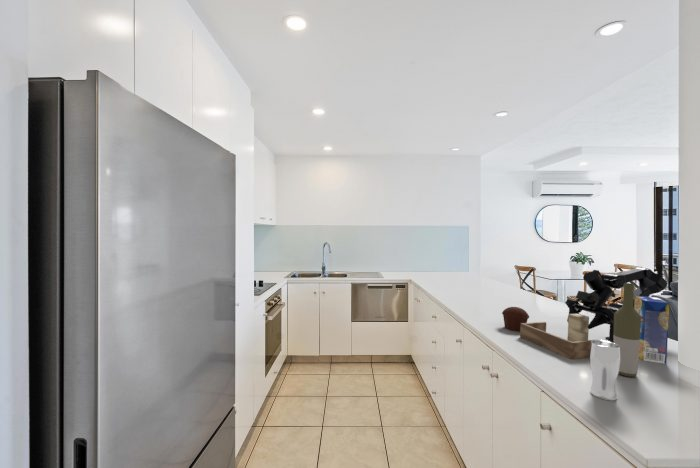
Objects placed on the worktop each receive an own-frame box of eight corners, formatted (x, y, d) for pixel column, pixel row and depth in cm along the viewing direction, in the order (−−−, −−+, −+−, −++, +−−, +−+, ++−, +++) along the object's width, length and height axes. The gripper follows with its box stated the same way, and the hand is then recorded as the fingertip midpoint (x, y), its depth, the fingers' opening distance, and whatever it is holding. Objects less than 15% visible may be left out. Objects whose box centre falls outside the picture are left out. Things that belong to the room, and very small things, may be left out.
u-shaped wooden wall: (543, 335, 151) (544, 321, 151) (598, 356, 127) (599, 340, 127) (520, 337, 147) (520, 323, 147) (571, 359, 123) (572, 343, 123)
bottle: (640, 380, 107) (645, 286, 106) (612, 374, 111) (616, 284, 110) (636, 372, 113) (640, 283, 112) (610, 367, 117) (613, 281, 116)
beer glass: (582, 389, 100) (584, 339, 100) (604, 389, 100) (606, 339, 100) (601, 401, 93) (604, 348, 93) (625, 401, 94) (627, 347, 93)
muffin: (530, 328, 161) (530, 307, 161) (527, 334, 152) (528, 312, 152) (503, 323, 167) (503, 303, 167) (499, 329, 158) (500, 308, 158)
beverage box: (654, 353, 131) (657, 297, 130) (666, 364, 121) (669, 303, 120) (632, 350, 134) (634, 295, 133) (642, 360, 124) (645, 300, 123)
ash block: (576, 341, 143) (577, 313, 143) (587, 345, 138) (589, 316, 138) (567, 342, 142) (568, 314, 141) (578, 346, 137) (579, 317, 137)
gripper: (569, 280, 150) (548, 306, 147) (612, 288, 132) (589, 318, 129) (582, 297, 152) (562, 323, 149) (626, 307, 134) (604, 337, 131)
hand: (577, 325), depth 140 cm, fingers open, 9 cm apart
